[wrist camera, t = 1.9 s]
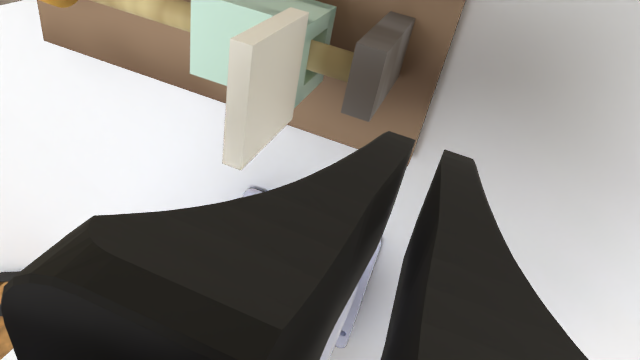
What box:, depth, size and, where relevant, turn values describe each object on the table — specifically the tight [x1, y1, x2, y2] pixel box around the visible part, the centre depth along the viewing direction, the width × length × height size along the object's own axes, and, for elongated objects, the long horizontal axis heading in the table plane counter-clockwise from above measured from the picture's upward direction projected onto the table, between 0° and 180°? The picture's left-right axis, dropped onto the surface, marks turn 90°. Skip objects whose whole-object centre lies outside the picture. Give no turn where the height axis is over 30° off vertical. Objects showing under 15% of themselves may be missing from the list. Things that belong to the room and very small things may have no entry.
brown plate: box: [0, 0, 466, 166], centre depth 18 cm, size 10×20×6 cm, turn 80°
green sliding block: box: [190, 0, 337, 170], centre depth 15 cm, size 4×4×6 cm
